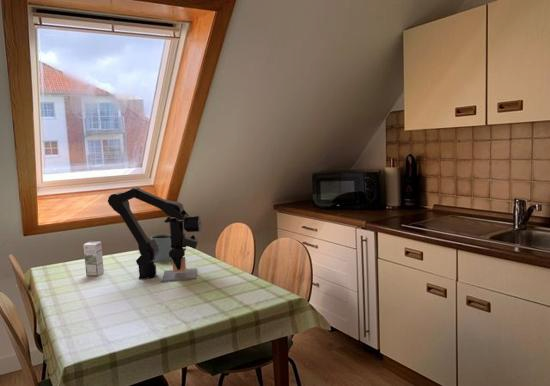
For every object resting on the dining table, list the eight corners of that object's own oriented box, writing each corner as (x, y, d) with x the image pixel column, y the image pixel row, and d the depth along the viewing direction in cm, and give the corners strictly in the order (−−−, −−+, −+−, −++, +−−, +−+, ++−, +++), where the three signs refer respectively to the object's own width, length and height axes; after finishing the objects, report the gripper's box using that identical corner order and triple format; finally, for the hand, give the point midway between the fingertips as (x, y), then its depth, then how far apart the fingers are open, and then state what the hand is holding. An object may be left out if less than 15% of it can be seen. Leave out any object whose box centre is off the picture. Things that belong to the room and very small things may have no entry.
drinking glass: (150, 259, 222) (148, 235, 220) (171, 256, 226) (169, 233, 225) (154, 264, 213) (152, 239, 211) (175, 261, 217) (173, 236, 215)
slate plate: (161, 282, 184) (161, 280, 184) (164, 272, 198) (164, 270, 198) (196, 279, 186) (195, 277, 186) (196, 269, 200) (196, 268, 200)
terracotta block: (173, 272, 189) (172, 260, 189) (174, 269, 194) (173, 257, 194) (185, 271, 190) (184, 259, 189) (185, 268, 195) (185, 256, 194)
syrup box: (104, 272, 202) (101, 241, 201) (98, 276, 197) (95, 244, 195) (92, 272, 203) (89, 241, 201) (85, 276, 197) (82, 244, 195)
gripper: (195, 235, 182) (197, 272, 184) (196, 226, 200) (198, 260, 202) (167, 237, 180) (170, 274, 182) (171, 228, 199) (173, 262, 201)
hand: (179, 267), depth 192 cm, fingers closed on terracotta block, 5 cm apart
